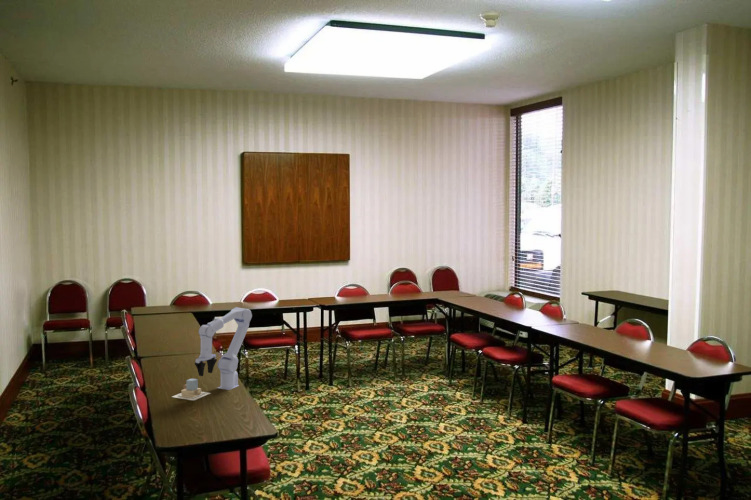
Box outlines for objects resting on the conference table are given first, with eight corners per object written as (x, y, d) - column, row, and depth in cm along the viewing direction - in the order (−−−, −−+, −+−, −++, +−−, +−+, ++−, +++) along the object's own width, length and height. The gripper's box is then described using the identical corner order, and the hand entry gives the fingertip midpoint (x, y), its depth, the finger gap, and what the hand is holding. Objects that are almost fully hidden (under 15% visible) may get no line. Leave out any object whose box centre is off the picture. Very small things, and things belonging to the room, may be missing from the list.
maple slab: (190, 392, 334) (190, 386, 334) (201, 394, 331) (201, 388, 331) (181, 395, 328) (181, 390, 327) (192, 397, 325) (192, 391, 325)
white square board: (189, 390, 339) (189, 389, 339) (211, 393, 333) (211, 392, 333) (171, 397, 326) (171, 396, 326) (193, 400, 320) (193, 400, 320)
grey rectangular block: (191, 387, 332) (191, 378, 331) (197, 388, 330) (197, 379, 330) (186, 389, 328) (186, 380, 328) (192, 390, 327) (192, 381, 326)
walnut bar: (192, 387, 344) (193, 382, 344) (197, 388, 343) (197, 382, 343) (183, 390, 336) (183, 384, 336) (187, 391, 335) (188, 385, 335)
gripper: (208, 345, 340) (208, 370, 340) (190, 349, 326) (190, 376, 327) (219, 346, 337) (219, 372, 337) (202, 351, 323) (201, 377, 324)
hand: (205, 374), depth 332 cm, fingers open, 7 cm apart
